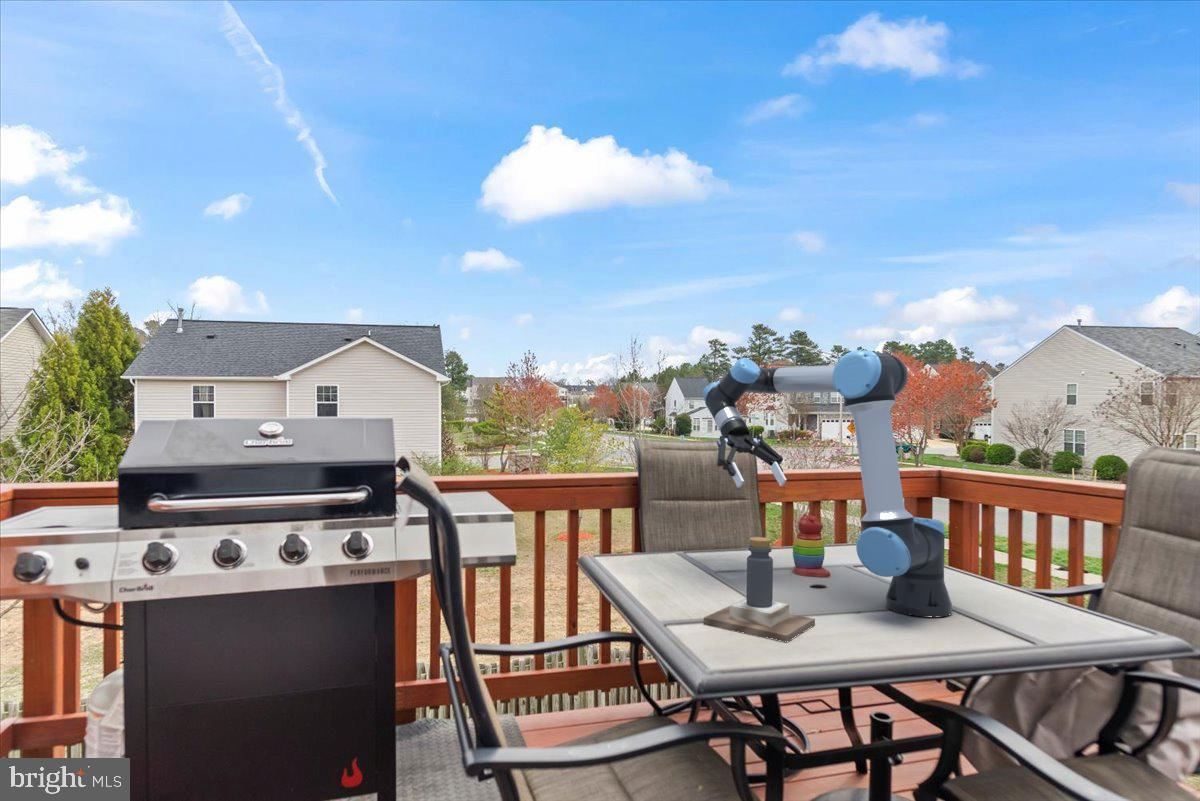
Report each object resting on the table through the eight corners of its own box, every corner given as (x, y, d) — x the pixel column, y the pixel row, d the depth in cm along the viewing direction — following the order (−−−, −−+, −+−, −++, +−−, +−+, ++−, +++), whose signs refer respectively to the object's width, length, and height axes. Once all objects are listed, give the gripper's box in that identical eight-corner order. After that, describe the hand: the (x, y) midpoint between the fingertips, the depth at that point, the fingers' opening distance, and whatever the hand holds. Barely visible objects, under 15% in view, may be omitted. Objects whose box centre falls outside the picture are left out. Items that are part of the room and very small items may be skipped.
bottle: (757, 609, 156) (758, 541, 156) (741, 602, 161) (741, 537, 162) (777, 606, 159) (778, 540, 159) (760, 599, 164) (761, 535, 164)
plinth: (814, 625, 160) (815, 605, 160) (786, 642, 148) (787, 620, 148) (735, 609, 172) (735, 590, 173) (703, 624, 160) (703, 603, 160)
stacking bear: (832, 577, 208) (832, 517, 208) (798, 577, 208) (798, 517, 208) (820, 569, 219) (820, 512, 219) (788, 569, 219) (788, 512, 219)
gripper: (762, 435, 208) (794, 491, 194) (689, 435, 199) (716, 493, 185) (773, 417, 203) (806, 473, 189) (699, 416, 194) (728, 475, 180)
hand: (762, 483), depth 187 cm, fingers open, 13 cm apart
